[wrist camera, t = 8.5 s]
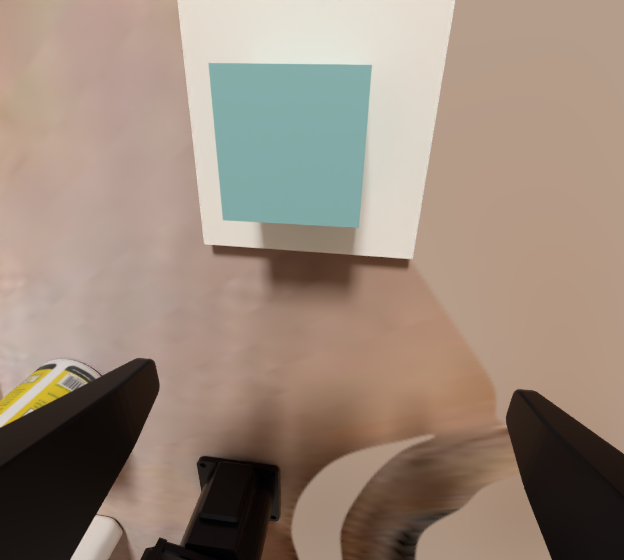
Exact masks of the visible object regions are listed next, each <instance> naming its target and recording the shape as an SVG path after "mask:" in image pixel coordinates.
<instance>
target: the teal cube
mask: <svg viewBox="0 0 624 560" xmlns="http://www.w3.org/2000/svg"><path fill="white" fill-rule="evenodd" d="M208 64H209V75H210V86H211V97H212V108H213V118H214V129H215V140H216V151H217V161H218V172H219V183H220V194H221V205H222V215H223V220H226V221H245V222H263V223H281V224H299V225H317V226H336V227H354V228H359V221H360V209H361V196H362V184H363V171H364V159H365V146H366V134H367V121H368V108H369V96H370V83H371V71H372V65H346V64H253V63H208Z"/></svg>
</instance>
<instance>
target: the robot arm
mask: <svg viewBox="0 0 624 560" xmlns="http://www.w3.org/2000/svg"><path fill="white" fill-rule="evenodd" d="M159 387H160V384H159V379H158V374H157V369H156V365H155V362H154V361H153V360H152V359H145V358H137V359H134V360H132V361H130V362H128V363H126V364H124V365H122V366H120V367H118V368H116V369H115V370H113V371H111V372H109V373H107V374H105V375H103V376H101V377H99V378H97V379H95V380H93V381H91V382H89V383H87V384H85V385H83V386H81V387H79V388H77V389H75V390H73V391H71V392H69V393H67V394H65V395H63V396H61V397H59V398H57V399H55V400H54V401H52V402H50V403H48V404H46V405H44V406H42V407H40V408H38V409H36V410H34V411H32V412H30V413H28V414H26V415H24V416H22V417H20V418H18V419H16V420H14V421H12V422H10V423H8V424H6V425H4V426H2V427H0V560H71V558H72V556H73V554H74V552H75V551H76V549H77V547H78V545H79V544H80V542H81V540H82V538H83V537H84V535H85V533H86V531H87V530H88V528H89V526H90V524H91V522H92V521H93V519H94V517H95V515H96V514H97V512H98V510H99V508H100V507H101V505H102V503H103V501H104V500H105V498H106V496H107V494H108V493H109V491H110V489H111V487H112V485H113V484H114V482H115V480H116V478H117V477H118V475H119V473H120V471H121V470H122V468H123V466H124V464H125V463H126V461H127V459H128V457H129V455H130V454H131V452H132V450H133V448H134V446H135V444H136V442H137V440H138V438H139V435H140V433H141V431H142V429H143V426H144V424H145V422H146V420H147V417H148V415H149V413H150V411H151V408H152V406H153V404H154V402H155V399H156V397H157V395H158V392H159ZM506 424H507V428H508V432H509V435H510V439H511V443H512V446H513V450H514V453H515V457H516V461H517V464H518V468H519V472H520V475H521V479H522V482H523V485H524V489H525V491H526V494H527V497H528V499H529V502H530V505H531V507H532V510H533V512H534V515H535V518H536V520H537V523H538V525H539V528H540V530H541V533H542V535H543V538H544V540H545V543H546V546H547V548H548V550H549V553H550V556H551V558H552V560H624V454H623V453H622V452H620V451H619V450H618V449H616V448H615V447H613V446H612V445H611V444H609V443H608V442H606V441H605V440H603V439H602V438H601V437H599V436H598V435H597V434H595V433H594V432H592V431H591V430H590V429H588V428H587V427H585V426H584V425H583V424H581V423H580V422H578V421H577V420H575V419H574V418H573V417H571V416H570V415H569V414H567V413H566V412H564V411H563V410H561V409H560V408H559V407H557V406H556V405H554V404H553V403H552V402H550V401H549V400H547V399H546V398H545V397H543V396H542V395H540V394H539V393H538V392H536V391H533V390H523V389H518V390H516V391H515V392H514V393H513V396H512V399H511V402H510V405H509V408H508V411H507V415H506ZM197 468H198V474H199V480H200V486H201V494H200V497H199V499H198V502H197V504H196V507H195V509H194V512H193V514H192V516H191V519H190V521H189V524H188V526H187V529H186V531H185V534H184V536H183V538H182V541H181V543H180V546H179V545H176V544H173V543H170V542H167V540H166V539H163V538H159V540H158V542H157V543H156V545H155V546H154V547H151V548H146V549H145V551H144V553H143V555H142V558H141V560H261V556H262V552H263V547H264V542H265V538H266V533H267V529H268V524H269V521H278V520H279V517H280V473H279V468H278V467H276V466H273V465H266V464H258V463H251V462H243V461H235V460H227V459H219V458H212V457H200V458H199V460H198V462H197Z"/></svg>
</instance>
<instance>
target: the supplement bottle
mask: <svg viewBox="0 0 624 560" xmlns="http://www.w3.org/2000/svg"><path fill="white" fill-rule="evenodd" d="M99 377H101V376H100V375H99V374H98V373H97V372H96V371H95V370H94V369H92V368H91V367H89V366H87V365H85V364H83V363H81V362H78V361H74V360H68V359H56V360H52V361H49V362H47V363H45V364H44V365H42V366H41V367H40V368H39V369H37V370H36V371H35V372H34V373H33V374H31V375H30V376H29V377H28V378H27V379H25V380H24V381H23V382H22V383H21V384H20V385H18V386H17V387H16V388H15V389H14V390H12V391H11V392H10V393H9V394H8V395H7V396H5V397H4V398H3V399H2V400H1V401H0V427H2V426H4V425H6V424H8V423H10V422H12V421H14V420H16V419H18V418H20V417H22V416H24V415H26V414H28V413H30V412H32V411H34V410H36V409H38V408H40V407H42V406H44V405H46V404H48V403H50V402H52V401H54V400H55V399H57V398H59V397H61V396H63V395H65V394H67V393H69V392H71V391H73V390H75V389H77V388H79V387H81V386H83V385H85V384H87V383H89V382H91V381H93V380H95V379H97V378H99Z"/></svg>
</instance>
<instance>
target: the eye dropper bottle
mask: <svg viewBox="0 0 624 560" xmlns="http://www.w3.org/2000/svg"><path fill="white" fill-rule="evenodd" d="M122 533H123V532H122V529H121V527H120V526H119V525H118V523H117V522H116V521H115V520H114V519H112V518H110V517H106V516H101V515H95V517H94V519H93V521H92V522H91V524H90V526H89V528H88V530H87V531H86V533H85V535H84V537H83V538H82V540H81V542H80V544H79V545H78V547H77V549H76V551H75V552H74V554H73V556H72V558H71V560H109V558H110V556H111V554H112V552H113V550H114V549H115V547H116V545H117V543H118V541H119V540H120V538H121V536H122Z"/></svg>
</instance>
